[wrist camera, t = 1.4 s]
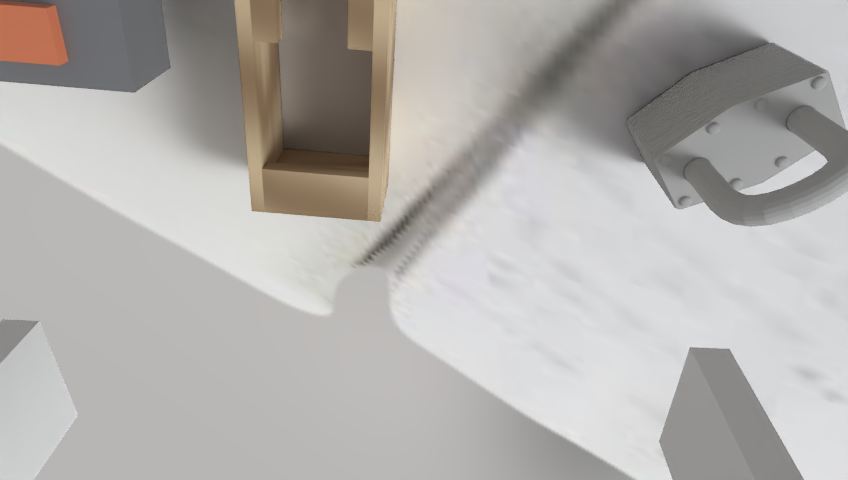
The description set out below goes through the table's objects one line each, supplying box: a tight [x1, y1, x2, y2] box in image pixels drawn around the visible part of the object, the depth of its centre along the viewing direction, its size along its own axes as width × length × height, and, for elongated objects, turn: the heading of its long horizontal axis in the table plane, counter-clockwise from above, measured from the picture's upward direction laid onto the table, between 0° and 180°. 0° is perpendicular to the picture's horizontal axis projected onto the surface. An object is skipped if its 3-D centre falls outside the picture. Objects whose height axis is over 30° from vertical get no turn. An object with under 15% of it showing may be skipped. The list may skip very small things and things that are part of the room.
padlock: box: [626, 43, 848, 227], centre depth 25 cm, size 7×4×10 cm, turn 123°
